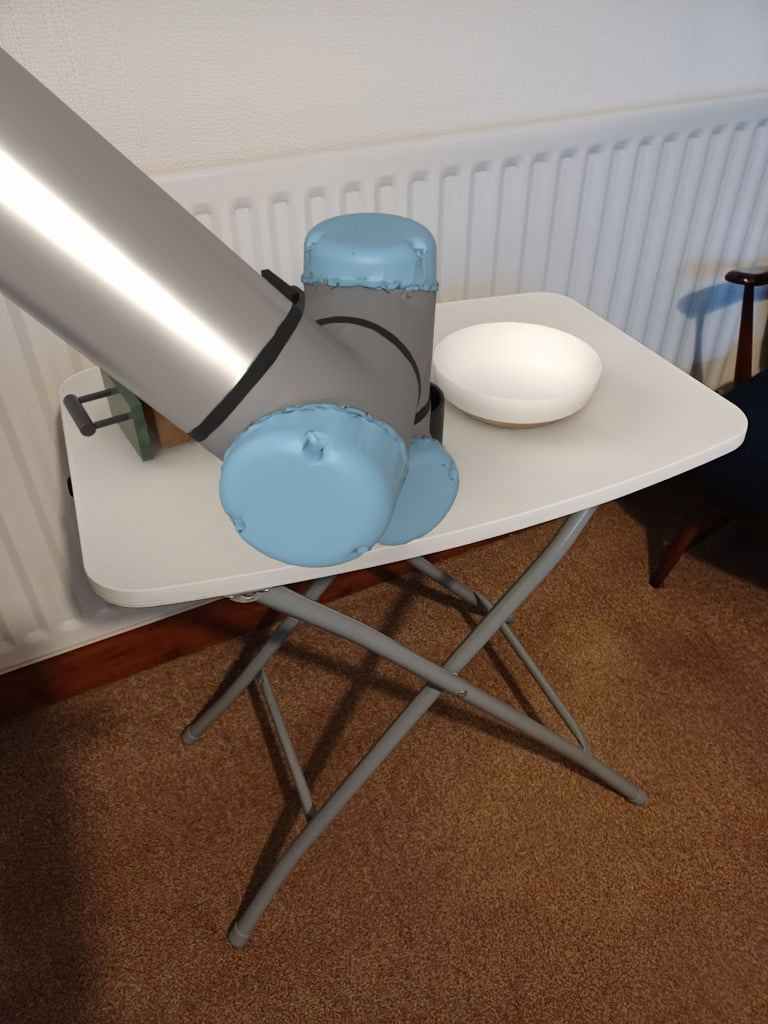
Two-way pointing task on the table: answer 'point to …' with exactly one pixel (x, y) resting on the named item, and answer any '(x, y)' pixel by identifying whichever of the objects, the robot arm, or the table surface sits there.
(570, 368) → the bowl
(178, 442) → the drawer
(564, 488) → the table surface
